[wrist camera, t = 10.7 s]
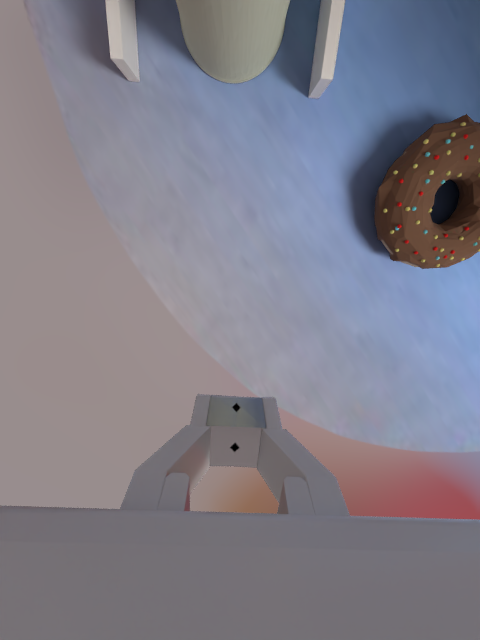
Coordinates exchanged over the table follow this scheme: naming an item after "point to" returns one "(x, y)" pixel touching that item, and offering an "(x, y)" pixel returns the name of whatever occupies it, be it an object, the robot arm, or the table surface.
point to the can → (233, 35)
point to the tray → (126, 47)
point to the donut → (432, 197)
